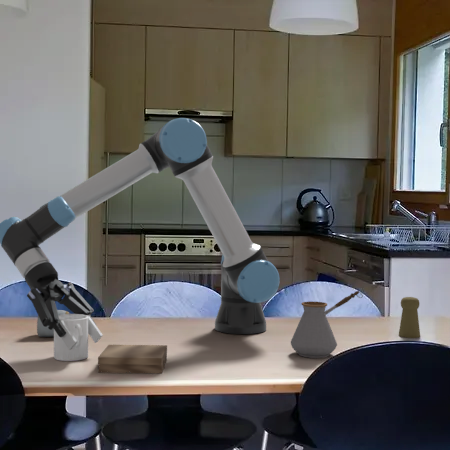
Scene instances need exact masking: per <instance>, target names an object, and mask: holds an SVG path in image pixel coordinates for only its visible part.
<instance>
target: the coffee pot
mask: <svg viewBox="0 0 450 450" xmlns="http://www.w3.org/2000/svg"><path fill="white" fill-rule="evenodd" d="M359 294H360V295H361V297H360V296H359ZM355 296H356V297H357V298H358V299H362V298H363V293H362V292H360V291H359V290H357V291H354V293H350V295H347V296H345V297H344V298H343V299H341V300H340V301H339V302H337V303H336V304H334V305H333V306H331V307H329V308H328V309H326V307H328V303H327V302H323V301H302V302H301V304H300V305H302V307H303V313H302V314H301V317H300V319H299V322H298V324H297V327H296V329H295V331H294V333H293V336H291V337H292V338H291V339H290V346H291V348H292V349H293V350H294V351H295V352H296V353H297V355H298V356H300V357H304V358H309V359H312V358H313V359H321V358H322V359H323V358H327V357H329V356H330V354H332V353H333V352H334V351H335V350H336V348H337V346H338V343H337V340H336V337H335V336H334V333H333V331H332V327H331V326H330V323H329V320H328V317H327V315H328V314H329V313H331V312H332V311H334V310H335V309H337V308H339V307H341V306H343V305H345V304H347V303H348V302H349V301H350V300H351V299H354V298H355Z"/></svg>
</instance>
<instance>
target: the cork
mask: <svg viewBox="0 0 450 450" xmlns="http://www.w3.org/2000/svg"><path fill="white" fill-rule="evenodd" d="M400 307H401V309H402V310H401V316H400V323H399V324H400V325H399V330H398V336H399V337H401V338H406V339H407V338H408V339H416V338H420V337H421V331H420V330H421V329H420V321H419V313H418V310H419V308H420V300H419V298H417V297H413V296H405V297H403V298H401V301H400Z"/></svg>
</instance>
